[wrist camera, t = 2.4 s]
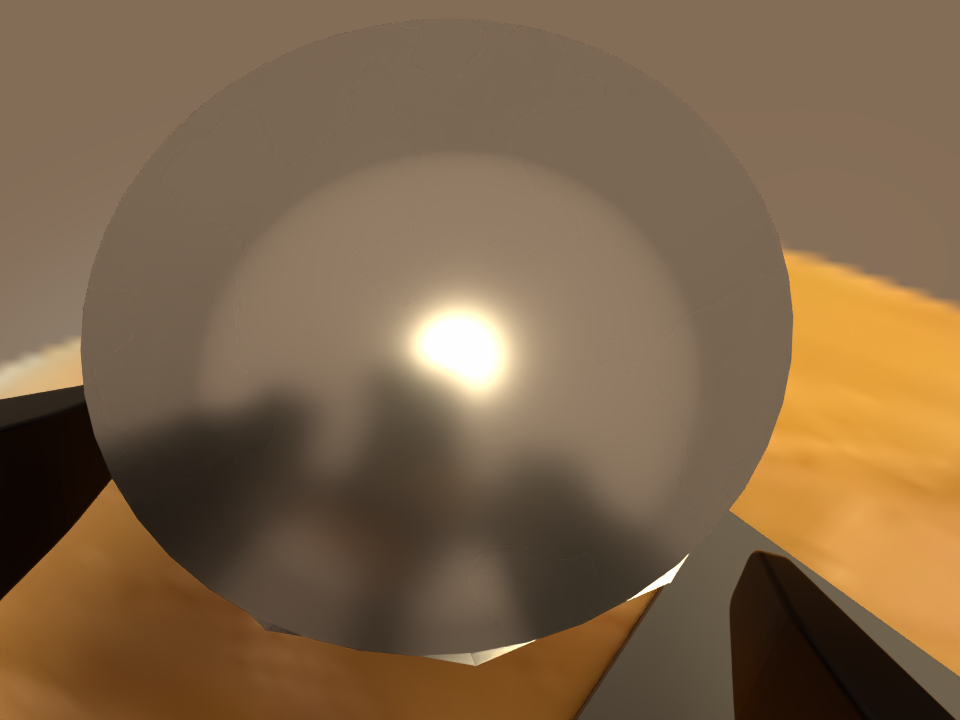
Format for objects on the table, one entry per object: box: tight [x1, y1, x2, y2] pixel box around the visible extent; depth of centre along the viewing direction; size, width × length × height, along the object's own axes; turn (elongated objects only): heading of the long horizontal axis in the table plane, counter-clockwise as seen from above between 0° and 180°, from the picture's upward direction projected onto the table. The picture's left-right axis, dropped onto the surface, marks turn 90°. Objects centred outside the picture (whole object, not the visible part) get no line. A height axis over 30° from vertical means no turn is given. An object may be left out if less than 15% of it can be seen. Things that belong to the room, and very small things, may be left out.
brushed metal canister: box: [81, 19, 793, 666], centre depth 12 cm, size 7×7×12 cm
